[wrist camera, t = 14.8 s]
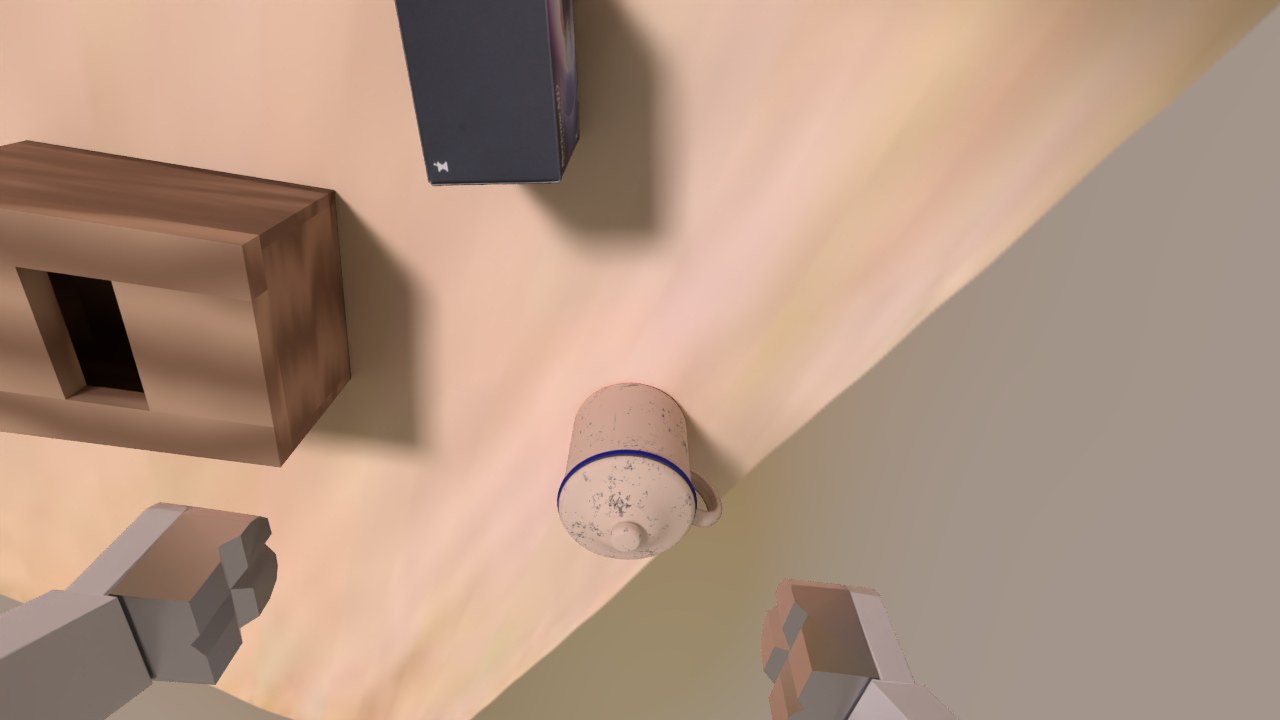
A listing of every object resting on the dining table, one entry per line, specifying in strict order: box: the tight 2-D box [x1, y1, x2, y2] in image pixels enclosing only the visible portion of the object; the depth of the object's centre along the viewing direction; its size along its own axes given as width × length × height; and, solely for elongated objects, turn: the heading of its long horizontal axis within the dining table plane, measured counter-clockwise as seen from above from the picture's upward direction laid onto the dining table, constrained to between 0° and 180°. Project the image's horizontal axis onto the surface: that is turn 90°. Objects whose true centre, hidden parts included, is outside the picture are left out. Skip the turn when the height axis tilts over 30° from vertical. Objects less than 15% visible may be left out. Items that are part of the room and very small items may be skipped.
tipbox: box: [0, 140, 351, 467], centre depth 36 cm, size 14×18×10 cm
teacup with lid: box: [557, 383, 722, 559], centre depth 42 cm, size 12×9×12 cm
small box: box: [394, 0, 579, 186], centre depth 29 cm, size 11×6×10 cm, turn 1°
